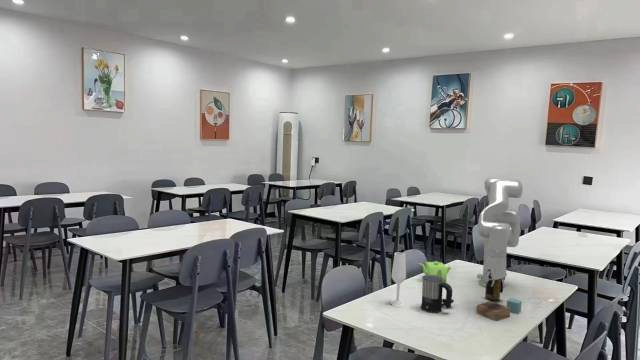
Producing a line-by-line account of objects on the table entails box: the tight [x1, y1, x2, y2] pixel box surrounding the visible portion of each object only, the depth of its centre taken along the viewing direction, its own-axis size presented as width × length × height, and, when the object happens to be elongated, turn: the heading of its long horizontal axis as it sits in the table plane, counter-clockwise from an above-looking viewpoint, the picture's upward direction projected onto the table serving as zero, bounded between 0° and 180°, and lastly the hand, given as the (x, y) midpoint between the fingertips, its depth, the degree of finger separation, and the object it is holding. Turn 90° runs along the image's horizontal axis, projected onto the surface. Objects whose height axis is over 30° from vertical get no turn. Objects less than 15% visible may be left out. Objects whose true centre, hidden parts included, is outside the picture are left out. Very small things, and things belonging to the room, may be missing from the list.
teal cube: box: [506, 297, 523, 315], centre depth 203 cm, size 5×5×5 cm
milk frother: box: [420, 274, 455, 313], centre depth 203 cm, size 14×16×15 cm
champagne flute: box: [390, 251, 407, 307], centre depth 206 cm, size 7×7×24 cm
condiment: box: [480, 277, 507, 304], centre depth 196 cm, size 7×8×12 cm
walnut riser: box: [476, 300, 511, 322], centre depth 197 cm, size 10×10×4 cm
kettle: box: [418, 261, 452, 283], centre depth 243 cm, size 15×14×11 cm
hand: (494, 292), depth 196 cm, fingers closed on condiment, 6 cm apart
